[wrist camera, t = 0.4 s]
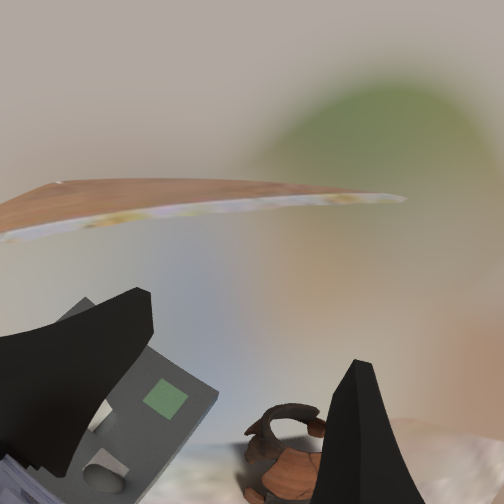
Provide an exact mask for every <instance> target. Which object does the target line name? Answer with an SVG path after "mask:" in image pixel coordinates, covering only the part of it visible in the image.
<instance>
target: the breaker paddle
mask: <svg viewBox="0 0 504 504" xmlns="http://www.w3.org/2000/svg"><path fill="white" fill-rule="evenodd" d="M111 411H112V408H111V407H110V405H109V404H108V402H107V401H106V399H105V400H104V401H103V403H102V404H101V406H100V407H99V409H98V411H97V412H96V414H95V416H94V417H93V419H92V421H91V422H90V424H89V426H88V429H89V430H90V431H92V432H93V431H94V430H95V429H96V428H97V427H98V426H99V425H100V423H101V422H102V421H103V420H104V419H105V418H106V417H107V416H108V414H109V413H110V412H111Z"/></svg>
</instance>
